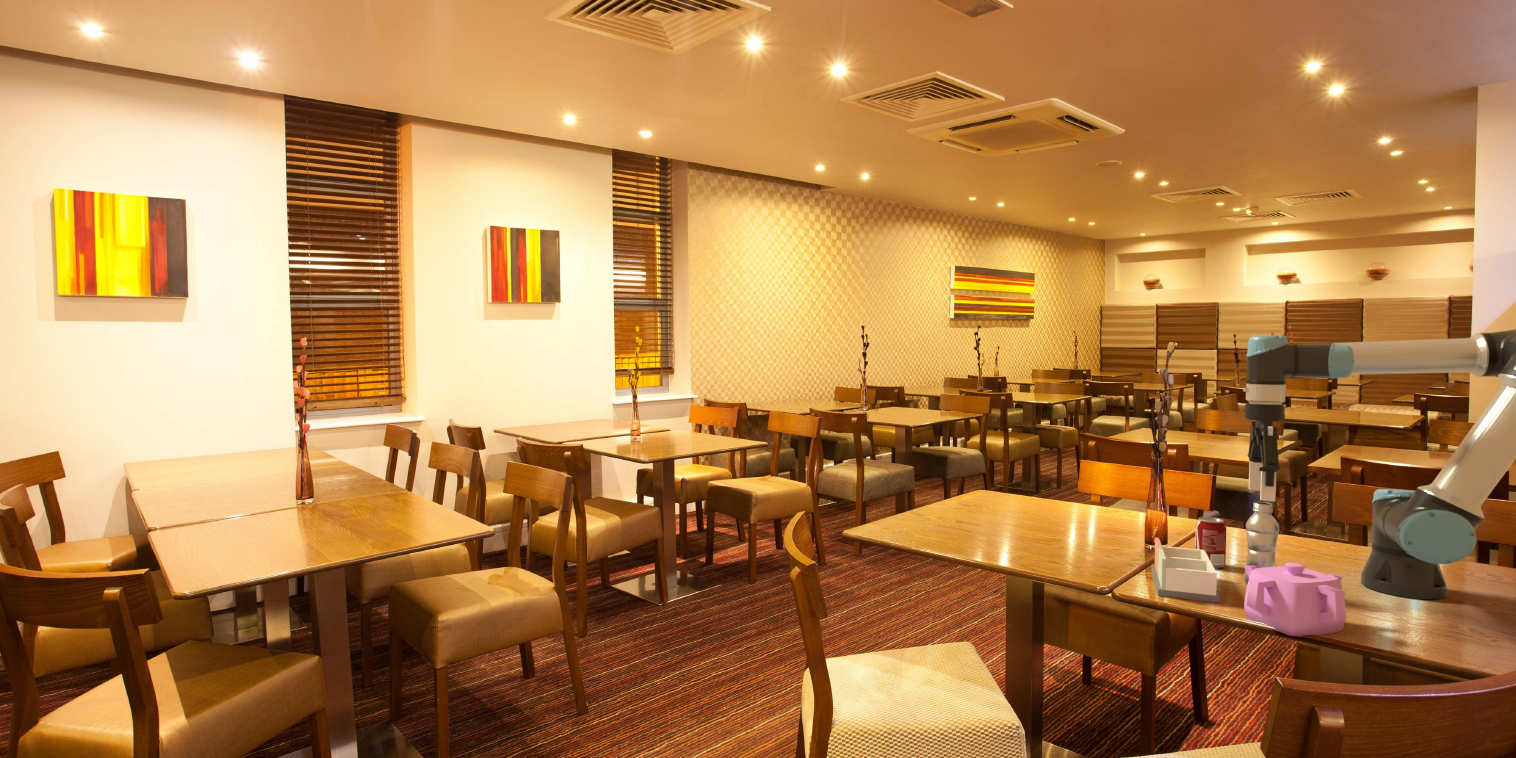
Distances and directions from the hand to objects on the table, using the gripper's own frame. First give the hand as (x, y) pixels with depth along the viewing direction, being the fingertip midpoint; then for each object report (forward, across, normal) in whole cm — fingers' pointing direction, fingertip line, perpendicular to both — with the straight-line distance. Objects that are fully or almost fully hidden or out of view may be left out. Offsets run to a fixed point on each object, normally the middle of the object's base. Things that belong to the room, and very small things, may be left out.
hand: (1261, 495), depth 175 cm
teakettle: (+22, +22, +2) cm, 31 cm away
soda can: (+22, -17, -8) cm, 29 cm away
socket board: (+22, +4, -16) cm, 27 cm away
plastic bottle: (+22, 0, 0) cm, 22 cm away
